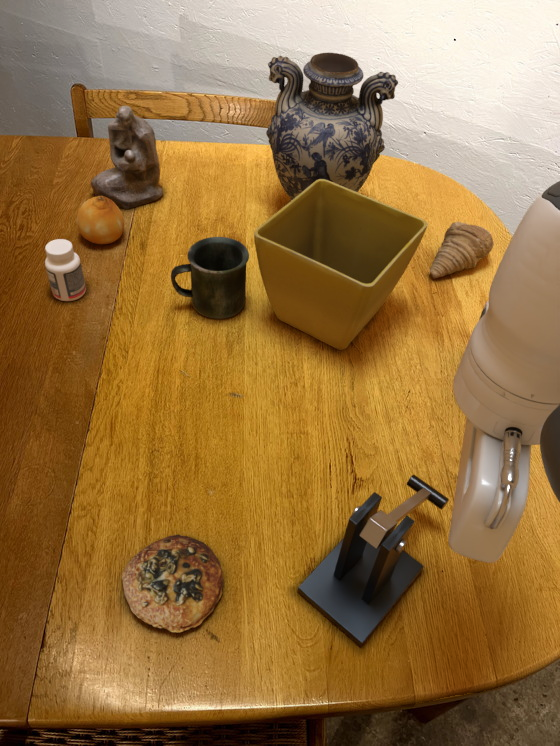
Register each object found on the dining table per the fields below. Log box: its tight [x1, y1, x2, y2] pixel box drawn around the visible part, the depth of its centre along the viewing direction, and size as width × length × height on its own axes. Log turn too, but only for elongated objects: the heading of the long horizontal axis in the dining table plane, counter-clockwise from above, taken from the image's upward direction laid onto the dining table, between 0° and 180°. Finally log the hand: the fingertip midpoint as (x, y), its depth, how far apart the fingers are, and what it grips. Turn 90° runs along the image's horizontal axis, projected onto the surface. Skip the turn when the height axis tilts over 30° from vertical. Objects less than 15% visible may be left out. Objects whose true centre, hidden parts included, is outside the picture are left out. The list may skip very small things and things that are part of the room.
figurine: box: [90, 105, 164, 210], centre depth 118 cm, size 13×12×18 cm
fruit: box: [76, 196, 125, 245], centre depth 113 cm, size 8×8×8 cm
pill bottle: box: [44, 238, 87, 302], centre depth 102 cm, size 5×5×9 cm
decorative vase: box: [265, 52, 399, 202], centre depth 114 cm, size 21×19×28 cm
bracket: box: [296, 491, 425, 648], centre depth 70 cm, size 12×9×14 cm
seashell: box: [429, 221, 495, 280], centre depth 113 cm, size 14×8×8 cm
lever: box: [360, 474, 450, 549], centre depth 71 cm, size 16×5×2 cm
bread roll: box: [121, 534, 225, 634], centre depth 71 cm, size 11×11×5 cm
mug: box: [170, 236, 250, 320], centre depth 101 cm, size 9×12×10 cm
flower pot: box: [253, 179, 429, 351], centre depth 99 cm, size 19×19×17 cm
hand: (466, 486), depth 57 cm, fingers open, 8 cm apart
